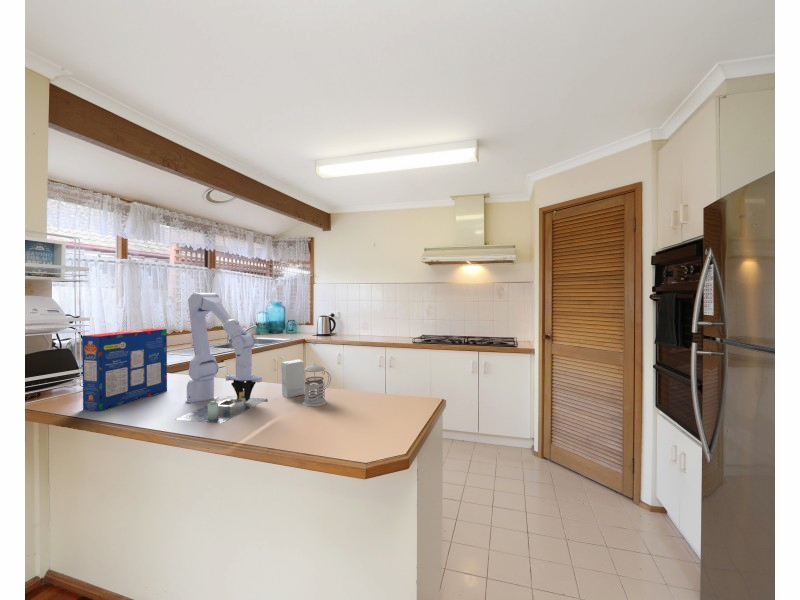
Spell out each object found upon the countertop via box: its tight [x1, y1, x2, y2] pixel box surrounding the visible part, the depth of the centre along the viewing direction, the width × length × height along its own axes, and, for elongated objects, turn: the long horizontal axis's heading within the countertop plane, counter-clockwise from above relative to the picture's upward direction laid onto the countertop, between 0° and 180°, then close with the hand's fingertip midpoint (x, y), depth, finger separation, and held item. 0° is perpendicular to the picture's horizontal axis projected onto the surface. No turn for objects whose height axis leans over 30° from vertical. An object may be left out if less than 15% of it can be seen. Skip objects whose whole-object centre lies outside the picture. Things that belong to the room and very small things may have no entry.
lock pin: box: [229, 389, 248, 405], centre depth 130 cm, size 2×10×4 cm, turn 170°
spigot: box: [207, 400, 218, 420], centre depth 118 cm, size 3×3×6 cm
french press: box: [301, 340, 332, 407], centre depth 139 cm, size 10×12×25 cm
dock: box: [174, 395, 268, 424], centre depth 128 cm, size 18×27×4 cm, turn 170°
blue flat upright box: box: [81, 327, 168, 413], centre depth 141 cm, size 28×8×28 cm, turn 167°
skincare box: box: [281, 358, 305, 399], centre depth 148 cm, size 8×6×15 cm
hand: (243, 399), depth 134 cm, fingers closed on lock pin, 2 cm apart
